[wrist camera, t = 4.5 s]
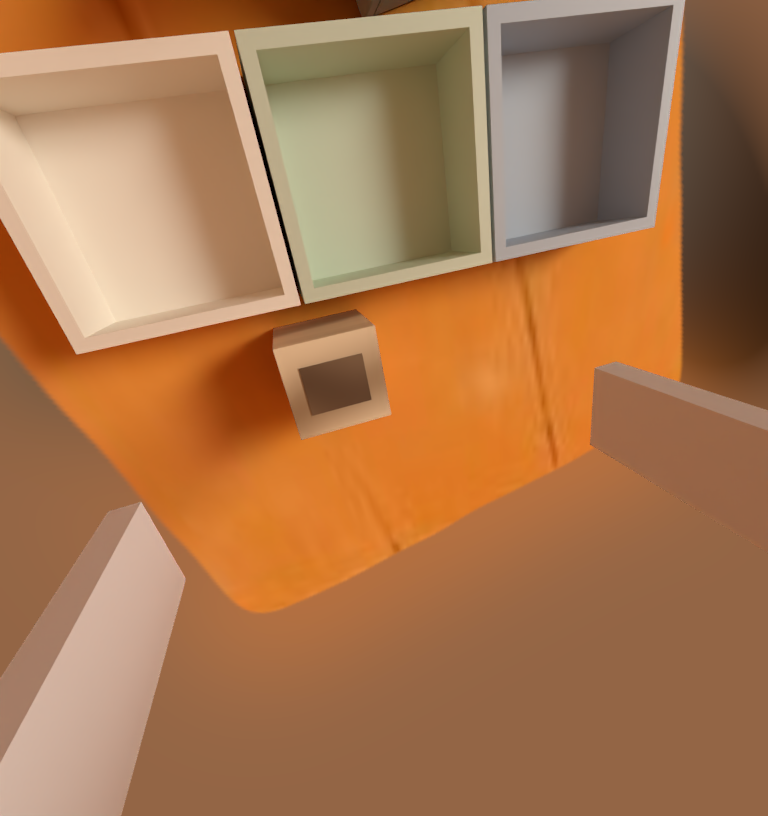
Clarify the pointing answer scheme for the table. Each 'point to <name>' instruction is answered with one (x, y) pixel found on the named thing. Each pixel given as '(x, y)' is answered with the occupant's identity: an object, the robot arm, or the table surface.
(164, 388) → the table surface
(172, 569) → the robot arm
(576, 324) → the table surface
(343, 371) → the letter cube
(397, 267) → the box
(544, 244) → the box
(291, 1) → the table surface
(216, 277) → the caddy cream
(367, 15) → the digital clock
